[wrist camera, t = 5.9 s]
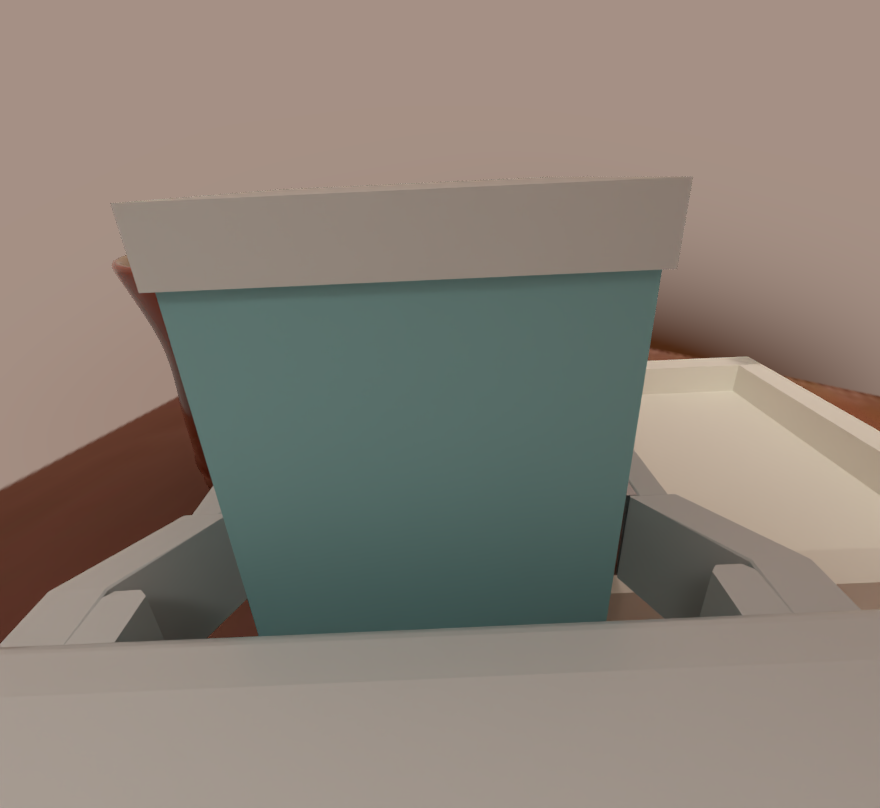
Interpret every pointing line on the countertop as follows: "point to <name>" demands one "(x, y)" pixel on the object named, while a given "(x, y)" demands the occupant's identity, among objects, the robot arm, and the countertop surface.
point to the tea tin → (415, 388)
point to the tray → (763, 466)
